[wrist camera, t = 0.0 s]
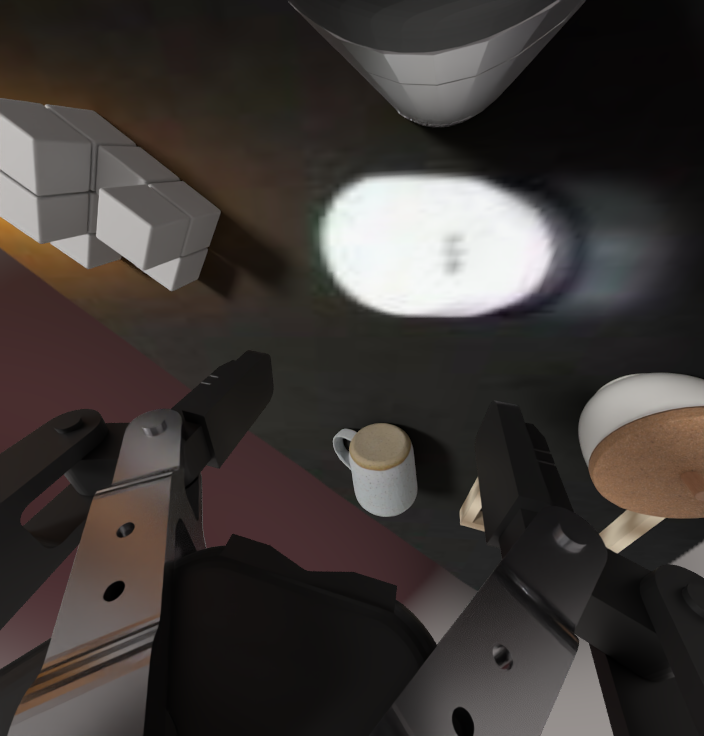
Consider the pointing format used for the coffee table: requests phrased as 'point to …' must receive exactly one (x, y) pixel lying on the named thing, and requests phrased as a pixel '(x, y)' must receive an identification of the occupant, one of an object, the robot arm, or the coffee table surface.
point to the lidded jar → (647, 443)
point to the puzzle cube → (99, 194)
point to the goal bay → (613, 536)
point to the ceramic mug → (380, 467)
